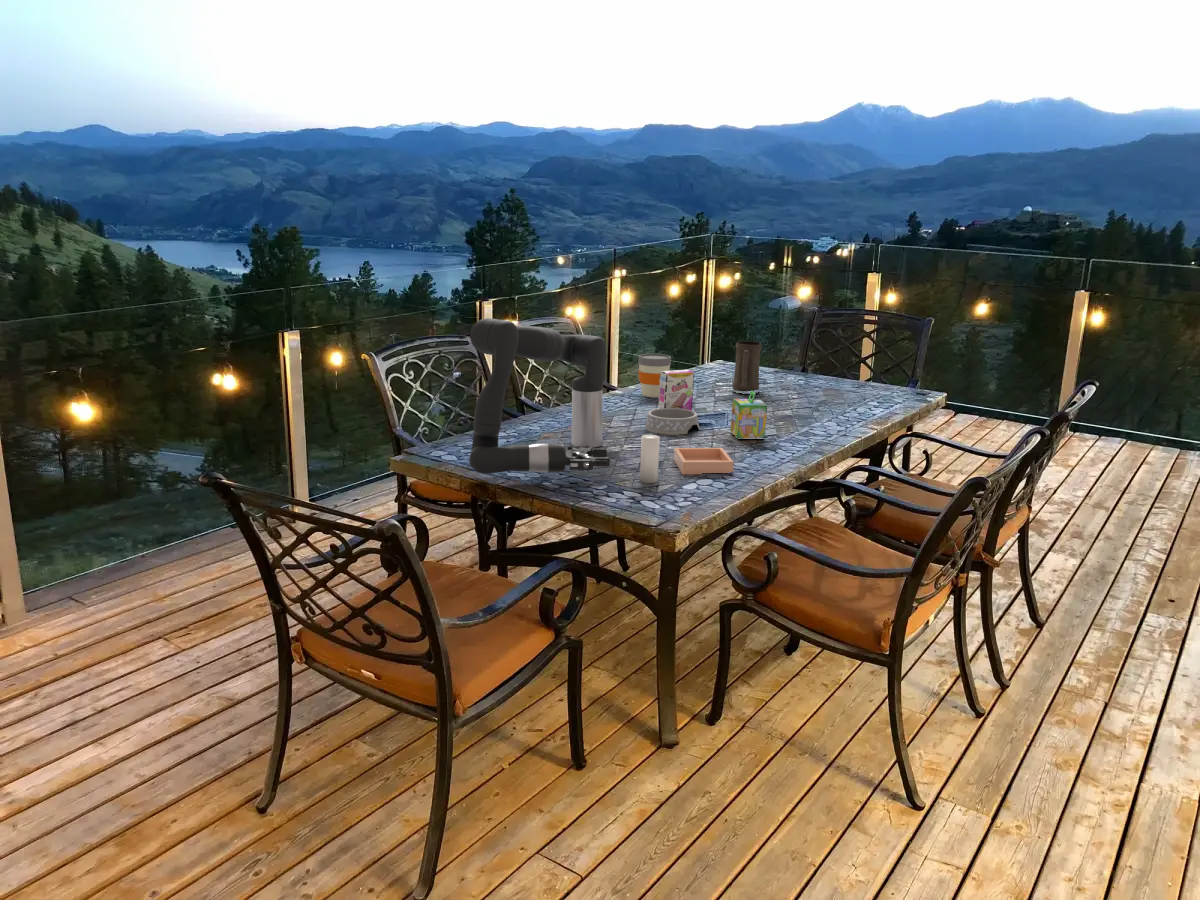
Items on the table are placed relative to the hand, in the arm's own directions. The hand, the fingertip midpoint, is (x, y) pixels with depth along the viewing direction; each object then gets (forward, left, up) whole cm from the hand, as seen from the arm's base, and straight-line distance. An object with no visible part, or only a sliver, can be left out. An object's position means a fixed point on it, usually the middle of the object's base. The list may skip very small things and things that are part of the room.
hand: (608, 457), depth 232 cm
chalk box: (-44, +49, -7) cm, 66 cm away
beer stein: (-109, +65, -7) cm, 127 cm away
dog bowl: (-56, +27, -7) cm, 62 cm away
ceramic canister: (0, +11, -6) cm, 13 cm away
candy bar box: (-69, +30, -7) cm, 76 cm away
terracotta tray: (-12, +28, -6) cm, 31 cm away
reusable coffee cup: (-106, +28, -7) cm, 110 cm away
